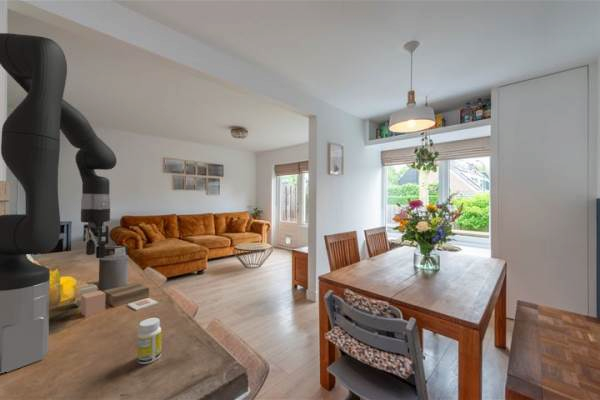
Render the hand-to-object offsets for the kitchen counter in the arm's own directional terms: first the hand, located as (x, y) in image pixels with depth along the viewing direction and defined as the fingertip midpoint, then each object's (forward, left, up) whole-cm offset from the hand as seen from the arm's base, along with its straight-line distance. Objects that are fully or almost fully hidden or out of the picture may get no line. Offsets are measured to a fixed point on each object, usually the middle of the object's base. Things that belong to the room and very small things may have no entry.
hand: (95, 256), depth 81 cm
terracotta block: (-1, +1, -18) cm, 18 cm away
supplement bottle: (-42, +2, -18) cm, 46 cm away
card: (-8, -11, -18) cm, 23 cm away
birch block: (+10, 0, -18) cm, 21 cm away
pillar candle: (+18, -11, -18) cm, 28 cm away
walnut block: (+3, -10, -19) cm, 22 cm away
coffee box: (+30, -15, -18) cm, 39 cm away
